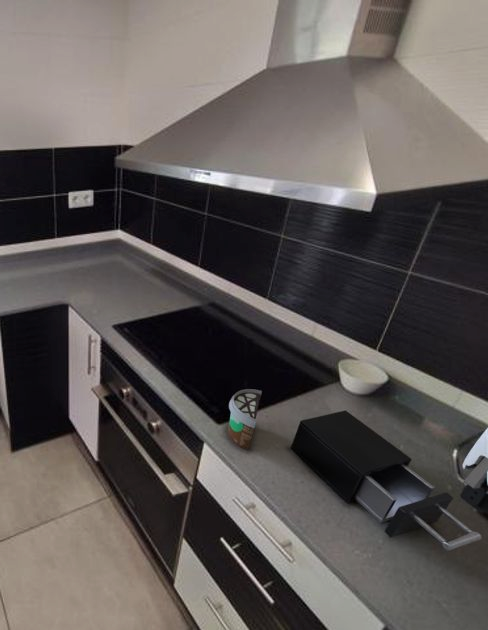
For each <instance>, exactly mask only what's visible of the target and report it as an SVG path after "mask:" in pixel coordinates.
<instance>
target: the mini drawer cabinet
mask: <svg viewBox="0 0 488 630" xmlns="http://www.w3.org/2000/svg"><path fill="white" fill-rule="evenodd" d="M290 450H291V452H293V453H294V454H295V455H296V457H298V458H299V459H300V460H301V461H302V462H303V463H304V464H305V465H306V466H307V467H309V469H311V470H312V472H313V473H315V474H316V475H317V476H318V477H319V478H320V479H321V480H322V481H323V482H324V483H325V484H326V485H327V486H328V487H329V488H330V489H331V490H332V491H333V492H334V493H335V494H336V495H337V496H338V497H339V498H340V499H341V500H343V501H344V502H345V504H348V503H352V502H356V501H357V500H356V499H355V498H354V497H353V494H354V492H355V490H356V489H357V487H358V485H359V483H360V481H361V479H362V477H363V475H365V474H369V473H372V472H376V471H380V470H383V469H387V468H390V467H394V466H397V465H401V464H405V465H406V466H407V467H409V465H410V463H411V462H412V458H411V457H410V456H409V455H407V454H405V453H404V452H403V451H402V450H401V449H399V448H398V447H396V445H393V444H392V443H391V442H390V441H388V440H387V439H385V438H384V437H383V436H381V435H380V434H379V433H378V432H376V431H375V430H373V429H372V428H370V427H369V426H368V425H366V424H365V422H362V421H361V420H360V419H359V418H357V417H356V416H354V415H352V413H350V412H349V411H347V410H340V411H336V412H333V413H327V414H323V415H319V416H315V417H311V418H310V417H309V418H306V419H301V420H300V421H299V424H298V427H297V429H296V432H295V435H294V438H293V441H292V443H291V447H290Z"/></svg>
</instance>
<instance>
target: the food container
mask: <svg viewBox="0 0 488 630" xmlns="http://www.w3.org/2000/svg"><path fill="white" fill-rule="evenodd" d="M262 393H263V391H262V390H259V389H252V388H251V389H250V388H246V389H241V390H239V391H237V392H235V394H234V395H232V397H231V398H230V400H229V403H228V409H229V412H230V417H229V422H228V429H227V435H228V436H229V439H230V440H231V441H232V442H233V443H234V444H235V445H236V446H237V447H239V448H241V449H243V450H246V451H248V450H249V446H250V443H251V440H252V437H253V433H254V430H255V427H256V423H257V415H258V410H259V409H258V408H259V403H260V399H261V397H262Z"/></svg>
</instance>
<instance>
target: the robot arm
mask: <svg viewBox="0 0 488 630" xmlns="http://www.w3.org/2000/svg"><path fill="white" fill-rule="evenodd" d="M462 469H463V470H464V471H471V470H472V471H471V472H470V473H469V474H468V475H467V476H466V477H465V478H464V480H463V483H464V484H465V485H466V486H465V487H464V488H463V490H462V491H461V493H460V495H459V497H460V498H461V499H462V500H463V501H464V502H466V503H467V504H468V505H470V506H471V507H473V508H474V509H475V510H476V511H478V512H479V513H481V514H484V513H487V512H488V427H486V429H485V430H484V431H483V433H482V434H481V436H480V437H479V438H478V439H477V441H476V442H475V443H474V444H473V446H472V448H471V449H470V451H468V453H467V455H466V457H465V458H464V460H463V462H462Z"/></svg>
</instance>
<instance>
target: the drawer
mask: <svg viewBox="0 0 488 630" xmlns="http://www.w3.org/2000/svg"><path fill="white" fill-rule="evenodd" d="M435 487H436V486H434V485H433V484H431V483H430V482H428V481H427V480H426V479H424V478H423V477H422V476H420V474H418V473H417V472H415V471H414V470H413V469H411V468H410V467H409V466H408V467H407V466H406V465H405V464H401V465H397V466H394V467H390V468H387V469H383V470H380V471H376V472H372V473H369V474H365V475H363V477H362V479H361V481H360V483H359V485H358V487H357V489H356V490H355V492H354V494H353V497H354V498H355V499H356V501H357V502H358V503H359V504H360V505H361V506H362V507H363V508H364V509H365V510H366V511H367V512H368V513H369V514H370V515H372V516H373V517H374V518H375V519H376V520H377V521H378V523H380V524H382V523H385V522H388V521H389V523H388V525H387V526H386V527H385V529H384V533H385V534H386V535H387V536H388V537H389V538H392V537H396V536H400V535H402V534H405V533H408V532H411V531H414V530H418V529H421V528H423V529H425V531H427V532H428V533H429V534H430V535H431V536H433V537H434V538H435V539H436V540H437V541H439V542H440V543H441V545H442V547H443V549H444V550H446V551H448V552H451V551H453V550H456V549H460V548H462V547H464V546H468V545H469V544H472V543H475V542H478V541H480V540H482V535H481V534H480V532H477V531H473V530H471V528H469V527H468V526H467V525H465V523H463V522H462V521H460V520H459V519H458V518H457V517H456V516H454V515H452V513H450V512H449V511H447V508H448V507H449V505H450V504H451V502H452V501H453V500H454V496H453V495H451V494H450V493H448V492H442V493H440V494H436V495H432V496H431V494H432V493H433V491H434V490H435ZM442 515H444V516H445V517H447V518H448V519H449V520H450V521H451V522H453V523H454V524H455V525H456V526H457V527H459V528H460V529H461V530H463V531H464V532H465V533H466V534H463V535H461V536H458V537H455V538H452V539H449V540H446V539H445V538H444V537H443V536H442V535H441V534H439V533H438V532H437V531H436V530H435V529H433V527H431V526H430V525H432V524H435V523H437V522H439V520H440V518H441V517H442Z"/></svg>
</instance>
